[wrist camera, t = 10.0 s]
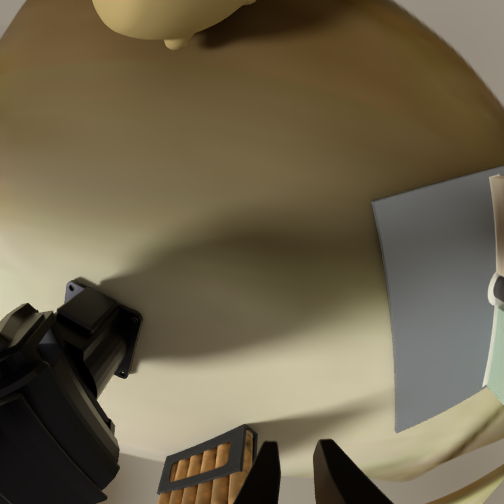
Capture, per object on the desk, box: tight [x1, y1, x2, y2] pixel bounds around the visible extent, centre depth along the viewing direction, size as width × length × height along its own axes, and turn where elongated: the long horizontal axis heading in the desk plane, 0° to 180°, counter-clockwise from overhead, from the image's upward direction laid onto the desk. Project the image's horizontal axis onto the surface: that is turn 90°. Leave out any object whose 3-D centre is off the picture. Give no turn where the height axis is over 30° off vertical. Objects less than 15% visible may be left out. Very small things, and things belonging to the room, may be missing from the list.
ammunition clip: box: [157, 424, 258, 504], centre depth 17 cm, size 11×2×12 cm, turn 129°
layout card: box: [371, 166, 504, 433], centre depth 19 cm, size 22×14×1 cm, turn 17°
